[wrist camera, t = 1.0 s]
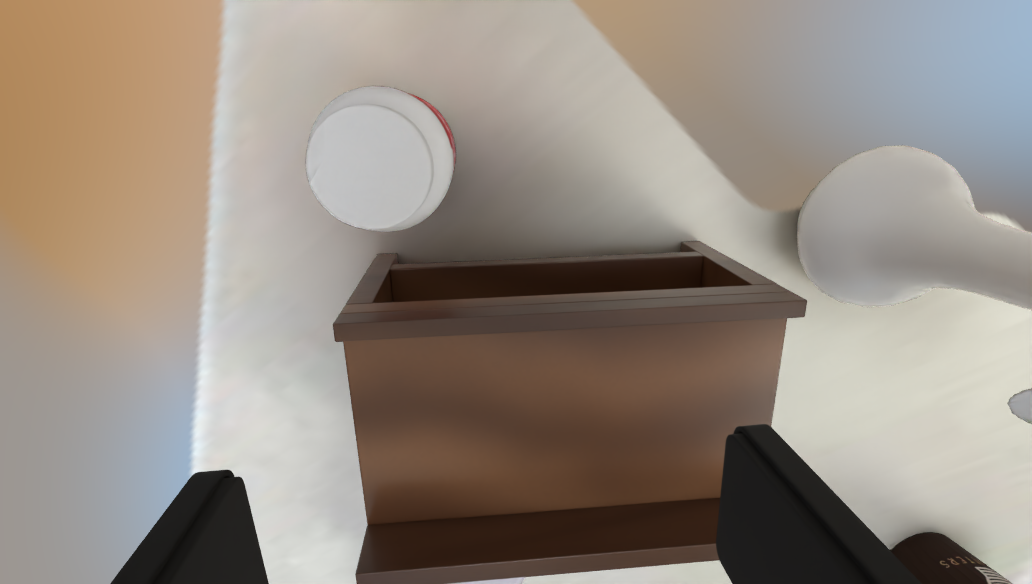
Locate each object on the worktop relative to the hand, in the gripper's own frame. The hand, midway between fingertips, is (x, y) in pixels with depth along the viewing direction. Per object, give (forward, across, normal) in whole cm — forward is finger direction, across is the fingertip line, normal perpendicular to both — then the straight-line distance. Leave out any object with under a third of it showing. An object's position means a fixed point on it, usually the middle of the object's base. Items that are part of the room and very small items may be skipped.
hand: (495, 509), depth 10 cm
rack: (+24, -4, +7) cm, 25 cm away
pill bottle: (+24, +4, -5) cm, 25 cm away
